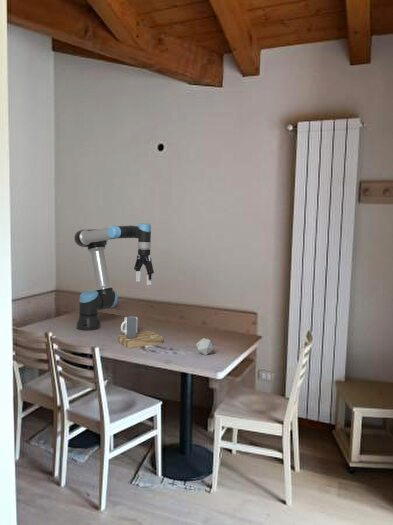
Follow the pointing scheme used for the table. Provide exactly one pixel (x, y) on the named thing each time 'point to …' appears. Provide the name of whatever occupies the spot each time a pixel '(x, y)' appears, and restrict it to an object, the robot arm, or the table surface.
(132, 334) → the plug
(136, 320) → the mug
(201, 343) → the die
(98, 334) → the table surface
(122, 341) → the port block
